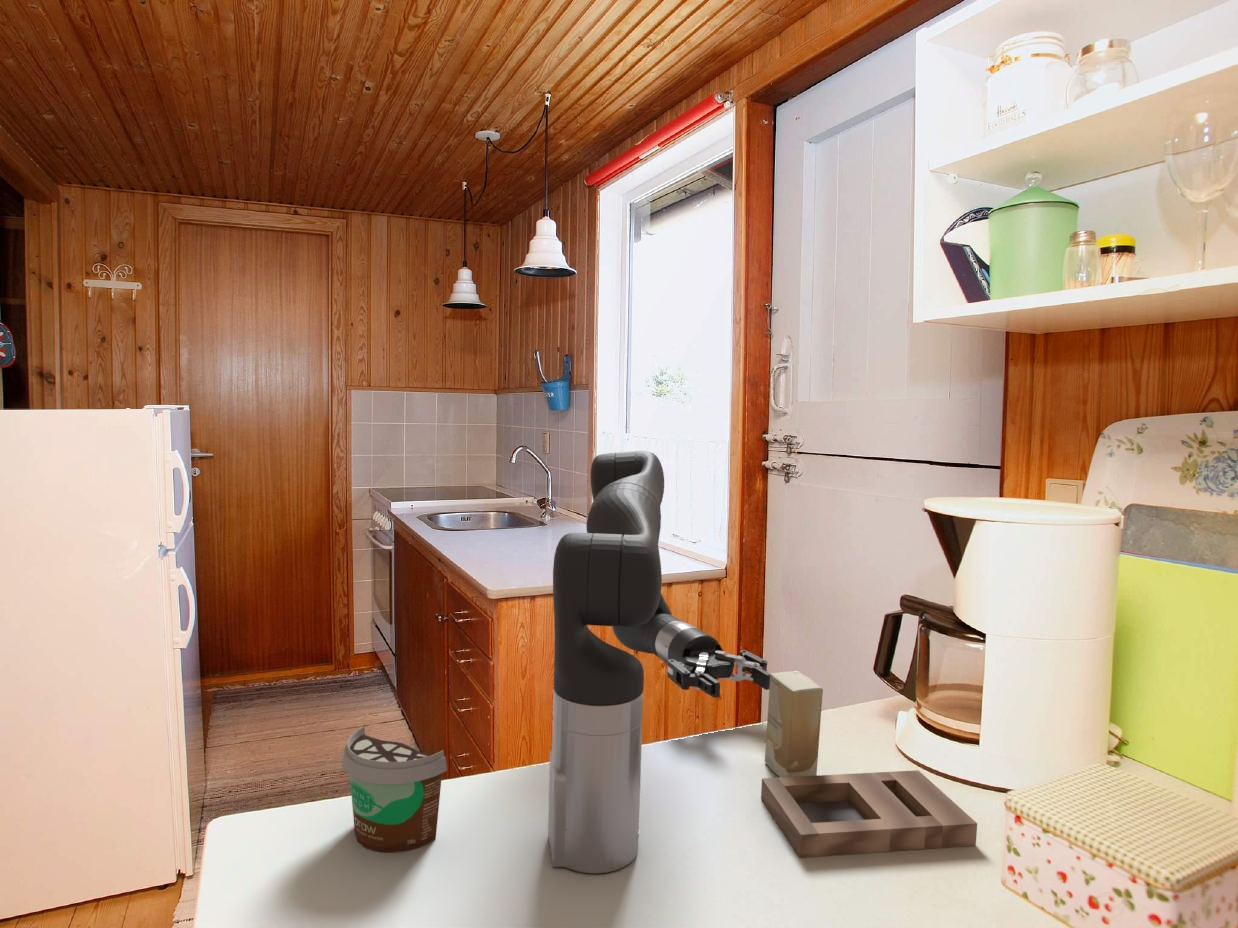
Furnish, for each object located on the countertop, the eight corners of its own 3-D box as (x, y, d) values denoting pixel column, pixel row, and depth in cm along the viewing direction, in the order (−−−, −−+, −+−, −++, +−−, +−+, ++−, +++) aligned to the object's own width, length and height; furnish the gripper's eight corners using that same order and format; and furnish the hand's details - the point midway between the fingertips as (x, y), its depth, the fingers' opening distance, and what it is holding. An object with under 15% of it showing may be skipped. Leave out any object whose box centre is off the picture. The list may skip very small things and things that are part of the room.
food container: (316, 837, 84) (315, 746, 83) (360, 810, 89) (360, 724, 88) (405, 873, 78) (405, 775, 77) (446, 842, 84) (447, 751, 83)
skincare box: (763, 762, 104) (767, 671, 103) (792, 758, 105) (797, 668, 104) (787, 786, 98) (792, 689, 96) (819, 782, 99) (824, 686, 98)
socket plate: (799, 857, 83) (800, 834, 82) (760, 798, 94) (762, 778, 94) (975, 845, 86) (977, 823, 86) (917, 789, 98) (918, 770, 97)
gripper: (648, 631, 122) (701, 666, 108) (727, 622, 128) (788, 654, 113) (646, 678, 123) (698, 720, 108) (725, 667, 129) (785, 705, 114)
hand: (744, 686), depth 111 cm, fingers open, 8 cm apart
